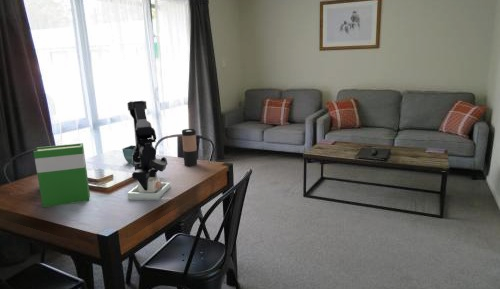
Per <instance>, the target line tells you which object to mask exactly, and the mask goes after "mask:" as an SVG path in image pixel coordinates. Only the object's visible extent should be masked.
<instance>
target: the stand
mask: <svg viewBox="0 0 500 289" xmlns="http://www.w3.org/2000/svg"><path fill="white" fill-rule="evenodd" d="M156 177H158V174H157V173H156ZM159 179H160V182H163V183H167V181H168V180H169V179H170V178H169V177H159Z"/></svg>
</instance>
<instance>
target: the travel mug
mask: <svg viewBox="0 0 500 289" xmlns="http://www.w3.org/2000/svg"><path fill="white" fill-rule="evenodd" d="M196 132H197V131H196V130H195V129H194V128H185V129H182V130H181V135H182V136H181V138H182V153H183V162H184V165H183V166H184V167H195V166H197V165H198V150H197V147H198V146H197V133H196Z"/></svg>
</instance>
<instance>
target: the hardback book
mask: <svg viewBox="0 0 500 289" xmlns="http://www.w3.org/2000/svg"><path fill="white" fill-rule="evenodd" d="M33 158H34V162H35V168H36V174H37V180H38V185H39V191H40V198H41V204H42V208H47V207H54V206H62V205H68V204H75V203H82V202H88V201H90V199H91V197H90V196H91V193H90V185H89V179H88V178H89V177H88V172H87V164H86V156H85V149H84V143H83V142H82V143H70V144H60V145H50V146H48V145H47V146H39V147H36V150H33Z"/></svg>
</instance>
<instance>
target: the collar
mask: <svg viewBox="0 0 500 289" xmlns="http://www.w3.org/2000/svg"><path fill="white" fill-rule="evenodd" d="M159 178H160V177H159V176H157V177H150V178H149V179H148V188H147V191H145V190H144V189H143V187H142V186H141V184H140V183H139V181H137V185H138V188H139V190H138V192H141V193H156V192H157V190H159V189H160V188H162V187H161V182H160V179H159Z"/></svg>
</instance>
